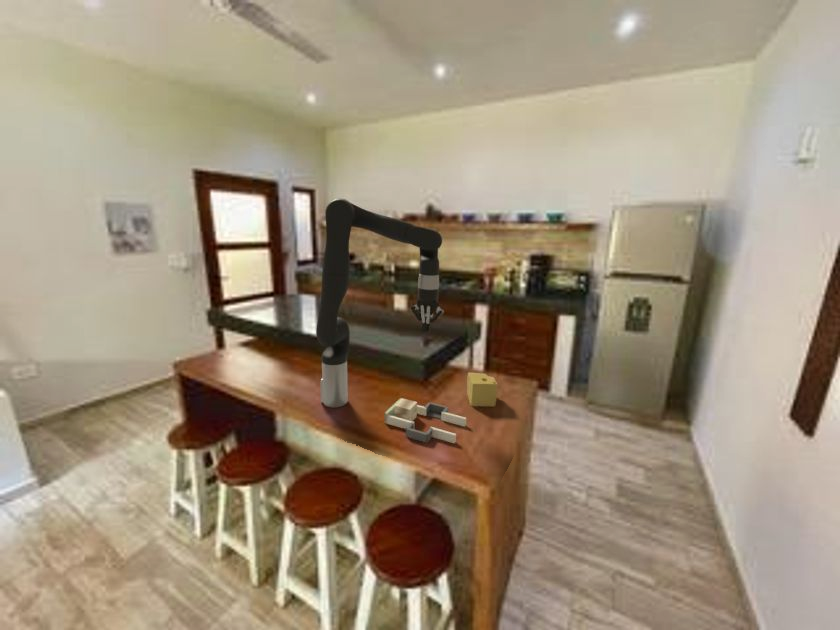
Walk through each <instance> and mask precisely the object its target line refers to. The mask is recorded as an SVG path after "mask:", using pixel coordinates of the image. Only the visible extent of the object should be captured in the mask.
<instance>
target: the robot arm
mask: <svg viewBox="0 0 840 630" xmlns="http://www.w3.org/2000/svg"><path fill="white" fill-rule="evenodd" d="M324 215H325V230H326V231H325V234H326V237H325V238H326V239H325V241H326V242H325V249H324V253H323V261H322V271H321V273H322V274H321V289H320V290H321V291H320V302H319V303H320V304H319V312H318V317H317V322H316V329H315V332H316V333H315V335H316V339H317V341H318V343H319V344H320V345H321V346H322V347H325V349H324V350H323V352H322V354H321V372H322V373H321V376H322V377H321V379H320V381H319V382H320V383H319V384H320V386H319V387H320V403H323V405H324V406H325V407H327V408H340V407H343V406H345V405H346V404H347V403H348V399H349V398H348V397H349V396H348V392H349V391H348V356H349V352H350V339H351V338H350V337H351V336H350V335H351V334H350V327H349V324H348V322H347V320H345V319H344V318H343V317H338V315H339V311H340V307H341V305H342V303H343V300H344V298H345V297H346V294H347V291H348V289H349V284H350V273H351V260H350V259H351V257H350V248H349V247H350V238H351V231H352V228H359V229H363V230H366V231H369V232H372V233H374V234H377V235H380V236H382V237H384V238H386V239H390V240H392V241H397V242H399V243H403V244H407V245H411V246H414V247H417V248H419V268H418V269H419V273H418V280H417V301H416V302H415V304H414V305H412V306H411V307H410V309H411V311H412V313H413V315H414V316H415V318H416V319H417V321H420V322H421V323H422V326H421V331H422V332H423V333H425V334H428V333H430V331H431V325H432V323H433V324H434V323H435V322H436V321H437V320H438V319H439V318H440V317H441V316H442V315H443V314H444V313H445V310H444V309H442V308H441V307H440V304H439V294H440V293H439V288H440V260H439V257H438V256H439V249H440V248H441V246H442V244H443V237H442V235H441V234H440V232H438V231H436V230H434V229H430V228H427V227H426V228H425V227H422V226H419V225H416V224H413V223H411V222H408V221H404V220H401V219H398V218H394V217H390V216H387V215H383V214H379V213H375V212H372V211H369V210H366V209H364V208H362V207H360V206H357V205H355V204H354V203H352V202H350V201H349V200H347V199H345V198H336V199H333V200H331V201H330V202H329V203H328V204H327V206H326V207H325V213H324ZM435 312H436V314H435ZM434 314H435V315H434Z"/></svg>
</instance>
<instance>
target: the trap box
mask: <svg viewBox="0 0 840 630" xmlns="http://www.w3.org/2000/svg"><path fill="white" fill-rule="evenodd" d="M401 399H402V397H399V399H398V400H397V401H396V402H395V403H393V404H392V405H391V407H389V408H388V409H387V410H386V411H385V412H384V424H387V425H391V426H394V427H398V428H401V429H403V428H404V429H403V430H405V437H406V438H408V437H409V438H408V439H411V438H412V440H416V441H418V440H419V442H421V441H422V443H424V442H425V444H427V443H429V441H430V440H432V438H434V439H437V440H441V441H444V442H448V443H452V444H455V443H456V442H457V441H456V440H457V433H454V432H450V431H448V430H444V429H440V428H438V427H433V426H430V427H429V429H428V430H427V431H426V432H424V431H421V430H417V429H416V428H415V421H409V420H405V419H402V418H398V417H395V416H394V414H395V405H396V404H397V403H398V402H399V401H400V400H401ZM417 415H421V416H425V417H426V416H428V417H431V418H434V419H438V420H440V421H442V422H447V423H450V424H454V425H457V426H461V427H464V428H465V427H466V425H467V417H464V416H461V415H457V414H454V413H450V412H449V407H448V406H446V405H442V404H437V403H435V402H434V403H433V402H427V403H426V404H425V406H424V405H419V404H417ZM431 437H432V438H431Z"/></svg>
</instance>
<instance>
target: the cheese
mask: <svg viewBox="0 0 840 630" xmlns="http://www.w3.org/2000/svg"><path fill="white" fill-rule="evenodd" d="M498 386H499V385H498V383H497V381H496V379H495V377H494V376H490V375H488V374H486V373H482V372H467V378H466V391H467V398H468V401H469V404H470V407H491V408H492V407H496V403H497V395H498Z"/></svg>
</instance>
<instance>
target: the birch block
mask: <svg viewBox="0 0 840 630" xmlns="http://www.w3.org/2000/svg"><path fill="white" fill-rule="evenodd" d="M401 398H402V397H401ZM417 405H418V402H417V401H414V400H411V399H407V398H402V399H401V400H400V401H399V402H398V403H397V404H396V405H395V414H394V416H395V417H398V418H402V419H405V420H409V421H412V422H414V420H415V419H416V418H417V417H418V416H417V415H418V414H417Z"/></svg>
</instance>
